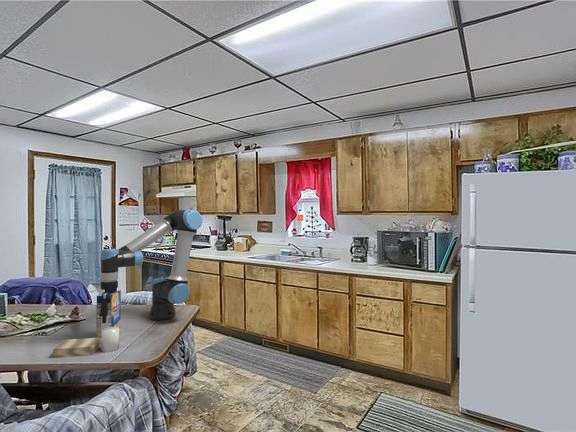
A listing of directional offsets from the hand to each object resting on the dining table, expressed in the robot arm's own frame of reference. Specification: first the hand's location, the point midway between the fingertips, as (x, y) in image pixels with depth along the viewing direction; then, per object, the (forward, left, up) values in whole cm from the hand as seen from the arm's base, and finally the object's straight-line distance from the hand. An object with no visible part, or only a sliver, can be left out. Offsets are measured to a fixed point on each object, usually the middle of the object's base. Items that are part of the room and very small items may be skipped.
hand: (108, 325), depth 161 cm
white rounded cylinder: (-5, +15, -6) cm, 17 cm away
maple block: (+8, +14, -6) cm, 18 cm away
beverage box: (0, 0, -6) cm, 6 cm away
